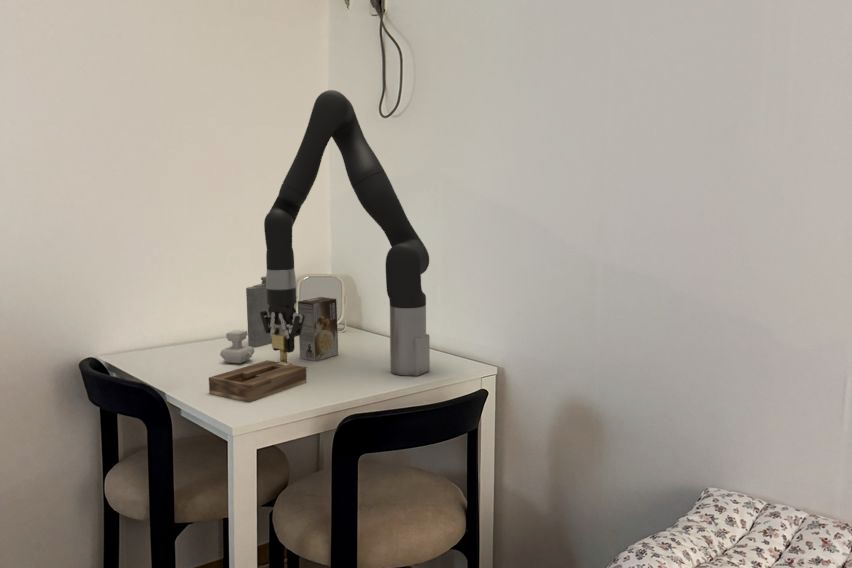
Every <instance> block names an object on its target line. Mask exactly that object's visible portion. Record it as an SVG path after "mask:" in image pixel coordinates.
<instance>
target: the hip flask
mask: <svg viewBox="0 0 852 568" xmlns="http://www.w3.org/2000/svg"><path fill="white" fill-rule="evenodd" d="M260 280H261V283H260V284H255V285H252V286H248V287H246V288H245V290H246V291H245V293H246V294H245V295H246V296H245V297H246V313H247V314H246V315H247V317H246V318H247V340H248V342H247V343H248V345H247V346H250V347H253V348H254V349H255V348H261V347H264V346H268V345H270V344H271V345H272V336H271V335H270V334H269V333H266V332H265V329H264V325H263V322H262V318H261V315H260V312H261V311H265V310H268V308H269V305H268V304H267V291H266V276H262V277H260ZM268 327H269V324H268ZM269 328H270V327H269ZM280 332H285V331H284V330H283V329H282V327H281V330H280Z"/></svg>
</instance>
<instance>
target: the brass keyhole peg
mask: <svg viewBox="0 0 852 568" xmlns="http://www.w3.org/2000/svg"><path fill="white" fill-rule="evenodd" d="M286 339H287V338H286V336H285V332H280V333H276V334H272V343H271V348H272V349H273V348H276V349H280V350H279V360H280V361H279V362H284V363H290V364H291V365H293V362H291V361H288V353H287V352H286Z"/></svg>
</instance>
